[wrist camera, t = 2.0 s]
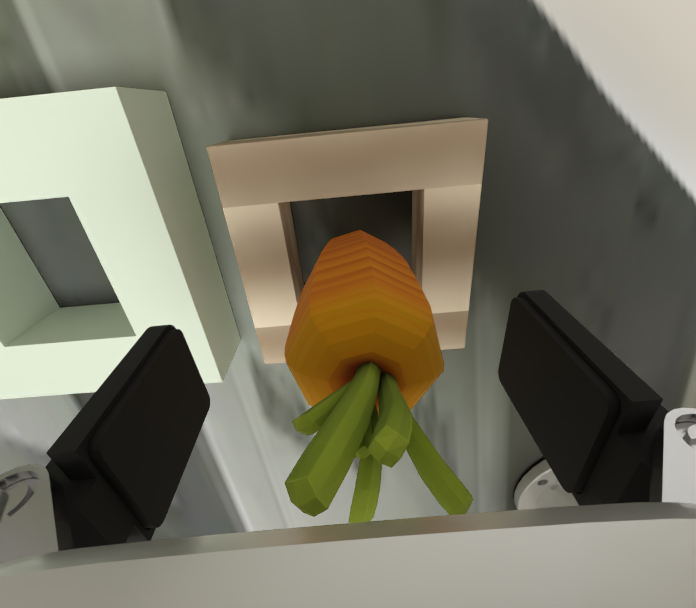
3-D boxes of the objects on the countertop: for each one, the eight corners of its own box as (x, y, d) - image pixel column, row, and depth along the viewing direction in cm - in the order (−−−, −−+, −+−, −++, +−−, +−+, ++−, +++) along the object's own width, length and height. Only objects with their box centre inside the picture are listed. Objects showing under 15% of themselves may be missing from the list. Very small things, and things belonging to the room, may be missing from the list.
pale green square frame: (240, 339, 23) (222, 382, 19) (36, 356, 23) (-19, 400, 19) (165, 91, 16) (115, 86, 12) (-127, 122, 16) (-256, 126, 13)
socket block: (450, 319, 22) (464, 348, 19) (273, 334, 22) (264, 363, 20) (465, 117, 16) (488, 118, 14) (227, 140, 17) (206, 147, 14)
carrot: (415, 247, 19) (563, 526, 6) (349, 296, 21) (361, 602, 8) (360, 177, 18) (413, 377, 5) (292, 238, 19) (185, 515, 6)
